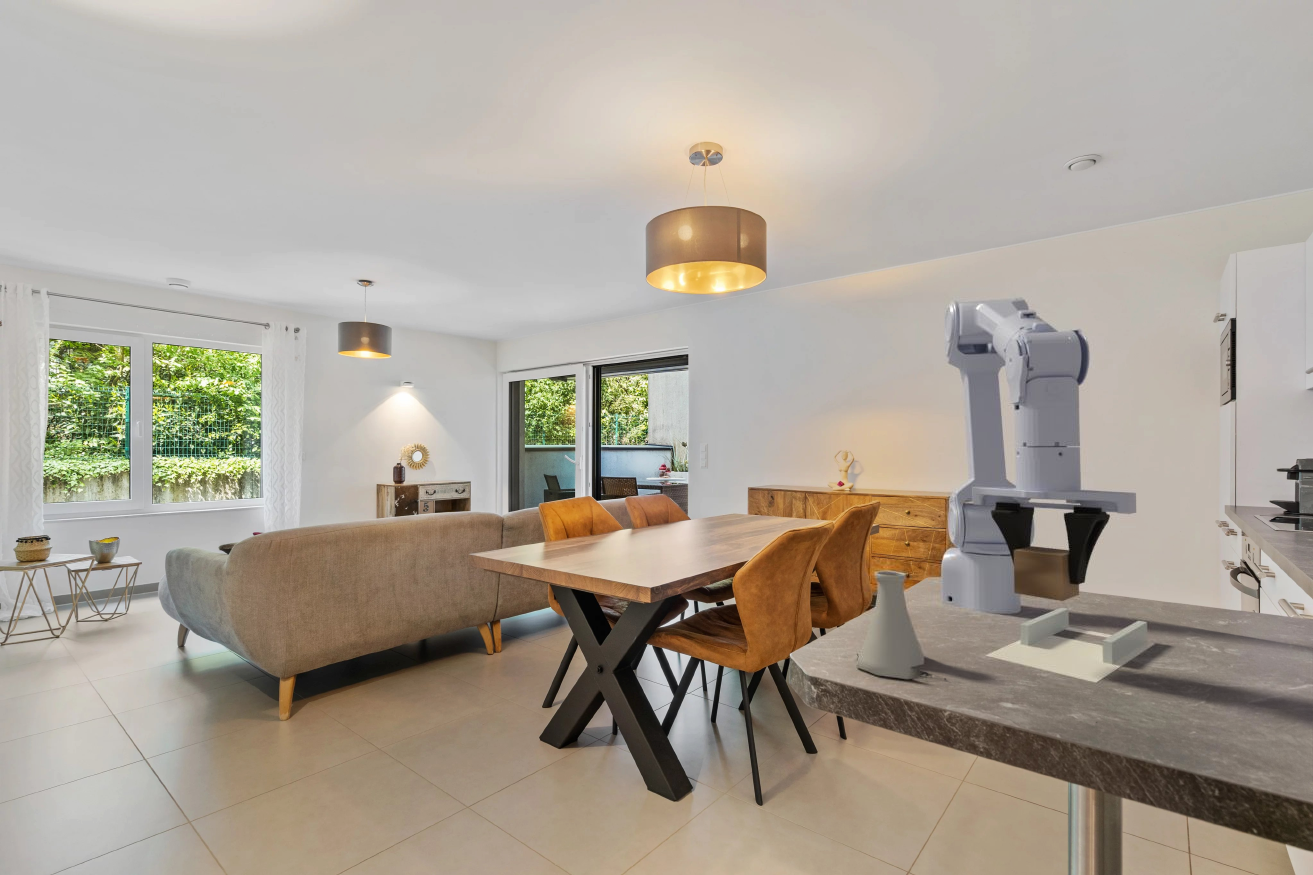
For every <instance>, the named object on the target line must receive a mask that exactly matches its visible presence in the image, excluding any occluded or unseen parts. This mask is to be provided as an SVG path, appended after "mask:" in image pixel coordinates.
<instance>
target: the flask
mask: <svg viewBox="0 0 1313 875" xmlns="http://www.w3.org/2000/svg"><path fill="white" fill-rule="evenodd" d="M906 578H907V573H905V572H902V571H895V570H879V571H874V579H875V580H876V581H877V595H876V599H875V600H876V601H875V607H874V612H873V614H872V618H871V621H870V625H869V627H868V631H867V634H866V636H865V639H864V642H863V643H862V644H863V645H862V648H861V651H860V654H859V656H858V659H857V662H856V666H855V667H856V668H857V669H858V668H859V669H861V670H863V671H865V672H869V673H871V674H872V675H873V674H874V675H877V676H881V677H882V676H883V677H888V678H897V679H901V680H902V679H904V680H910V679H914V678H917V677H922V676H925V675H928V672H927V671H925V670H921V669H917V668H915V667H918V666H923V665H924V664H925V655H924V654H925V653H924V652H923V650H922V647H921V644H920V642H919V640H918V637H917V633H916V631H915V628H914V626H913V623H912V620H911V617H910V614H909V610H908V607H907V603H906V599H905V596H906V595H905V589H904V588H905V587H904V585H905V584H904V582H905V581H906ZM913 667H914V668H913Z"/></svg>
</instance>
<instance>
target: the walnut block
mask: <svg viewBox="0 0 1313 875" xmlns="http://www.w3.org/2000/svg"><path fill="white" fill-rule="evenodd" d="M1014 593H1017V594H1021V595H1024V596H1030V597H1036V598H1042V599H1046V600H1048V599H1049V600H1054V601H1055V600H1056V601H1061V602H1064V601H1066V600H1070V599H1071V598H1074V597H1076V596H1077V597H1078V596H1079V595H1080V584H1079V585H1076V584H1070V579H1069V549H1063V548H1062V549H1061V548H1052V547H1042V546H1032V545H1031V546H1030V547H1025V548H1021V549H1017V550H1014Z"/></svg>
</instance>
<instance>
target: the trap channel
mask: <svg viewBox="0 0 1313 875" xmlns="http://www.w3.org/2000/svg"><path fill="white" fill-rule="evenodd" d="M1069 612H1070V611H1069V608H1066V607H1059V608H1057V609H1055V610H1052V611H1050V612H1047V613H1044V614H1042V615H1040V616H1037V617H1034V618H1032V619H1030V620H1027V621H1025V622H1023V623H1020V624H1019V627H1020V628H1019V631H1020V632H1019V633H1020V634H1019V635H1020V636H1019V637H1020V639H1019V640H1017V641H1015V642H1012V643H1010V644H1007V645H1006V646H1003V647H1000V648H998V649H997V650H994V651H992V652H989V653H988V654H985V657H989V658H993V659H997V660H1001V661H1004V662H1009V663H1012V664H1013V663H1014V664H1016V665H1021V666H1026V667H1029V668H1034V669H1038V670H1042V671H1046V672H1049V673H1054V674H1058V675H1061V676H1062V675H1063V676H1067V677H1070V678H1074V679H1075V678H1076V679H1080V680H1083V681H1088V682H1091V683H1095V684H1096V683H1099V682H1100V681H1102V680H1103V679H1105V678H1106V677H1108V676H1109V675H1111V674H1112V673H1113V672H1115V671H1116V670H1119V668H1122V667H1123V666H1125V665H1126V664H1127V663H1129V662H1130V661H1131V660H1133V659H1134V658H1137V657H1138V656H1139V655H1140V654H1142V653H1143V652H1145V651H1147V650H1148V649H1150V648H1151V647H1152V646H1154V645H1156V643H1154V642H1150V641H1148V622H1147V621H1143V620H1137V621H1135V622H1133V623H1132V624H1130V625H1128V626H1127V627H1124V628H1122V629H1121V630H1119V631H1117V632H1115V633H1113V634H1107V633H1103V632H1098V631H1093V630H1087V629H1083V628H1082V629H1081V628H1078V627H1077V628H1075V627H1071V626H1070V620H1069V618H1070V617H1069V616H1070V615H1069ZM1064 630H1065V631H1069V632H1075V633H1081V634H1086V635H1091V636H1096V637H1101V638H1105V639H1103V640H1102V644H1101V645H1100V644H1097V643H1096V644H1095V643H1092V642H1087V641H1082V640H1077V639H1072V638H1067V637H1063V636H1057V635H1055V634H1057V633H1060V632H1062V631H1064Z"/></svg>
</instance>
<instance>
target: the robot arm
mask: <svg viewBox="0 0 1313 875" xmlns="http://www.w3.org/2000/svg"><path fill="white" fill-rule="evenodd" d="M944 314H945V315H944V326H943V327H944V331H943V332H944V347H945V348H944V350H945V356H946V357H947V364H949V365H950V366H953V367H955V368H957V369H958V370H959V373H960V378H961V382H962V390H963V402H964V403H963V406H964V420H965V434H966V436H965V438H966V450H967V451H966V452H967V466H968V468H967V469H968V480H967V481H966V482H965V483H962V485H960V486H958V487H957V488H956V489H954V490H953V491H952V492H951V495H950V496H949V498H948V515H947V527H948V528H947V529H948V535H949V540H950V542H951V543H952V544H953V546H955V547H950V548H948V549H946V551H945V552H944V554H943V557H942V561H941V564H940V565H941V566H940V567H941V569H940V574H941V577H940V578H941V581H940V584H941V585H940V586H941V604H943V605H944V604H945V605H948V606H949V605H950V606H954V607H955V606H956V607H959V608H964V609H968V610H972V611H976V612H980V613H988V614H996V615H997V614H999V615H1009V614H1011V615H1012V614H1017V613H1020V612H1021V611H1022V608H1021V607H1022V606H1021V605H1022V596H1021V595H1022V594H1017V593H1014V550H1017V549H1021V548H1025V547H1030V546H1032V544H1033V542H1034V538H1035V529H1036V528H1035V519H1034V513H1035V509H1036V508H1039V509H1053V510H1070V512H1063V519H1064V523H1065V530H1066V535H1067V542H1068V543H1067V544H1068V550H1069V579H1070V584H1076V585H1079V586H1080V585H1082V584H1084V583H1085V582H1086V576H1087V570H1088V567H1089V562H1090V560H1091V556H1092V555H1093V551H1094V549H1095V546H1096V544H1097V542H1098V540H1099V538H1100V536H1101V534H1102V533H1103V530H1104V529H1105V527H1106V526H1107V524H1108V523H1109V520H1110V517H1111V515H1110V514H1109V513H1117V514H1125V515H1127V514H1128V515H1131V514H1136V513H1137V493H1136V492H1129V491H1128V492H1125V491H1107V490H1105V491H1104V490H1092V489H1091V490H1088V489H1086V490H1085V489H1082V484H1081V483H1082V480H1081V477H1082V476H1081V475H1082V474H1081V447H1080V446H1081V442H1080V441H1081V438H1080V437H1081V435H1080V434H1081V431H1080V430H1081V429H1080V426H1081V425H1080V386H1081V385H1082V384H1084V382H1085V380H1086V377H1087V376H1088V371H1089V366H1090V346H1089V342H1088V338H1087V336H1086V335H1085V333H1083V331H1082V330H1081V329H1080V328H1073V329H1070V330H1068V331H1059V330H1057V329H1056V328H1054V327H1053V326H1052V325H1050V324H1049V323H1048V322H1047V321H1045V320H1043V319H1042V318H1041V317H1040V316H1038V315H1037V312H1036V311H1035V309H1029V305H1028V302H1027V301H1026V300H1025V299H1024V298H1023V297H1020V296H1019V297H1015V298H1012V299H1011V298H1009V299H1008V298H1007V299H993V300H992V299H991V300H975V301H959V302H958V301H953V300H952V301H950V303H949V304H948V305H947V307H946V310H945V313H944ZM1003 367H1005V375H1006V381H1007V383H1008V389H1009V392H1008V393H1009V400H1010V404H1011V405H1013V406H1014V408H1013V409H1014V441H1015V442H1014V444H1015V445H1014V446H1015V448H1014V452H1015V456H1014V458H1015V460H1014V461H1015V484H1014V483H1013V482H1011V481H1010V480H1008V479H1007V470H1006V469H1007V468H1006V467H1007V466H1006V456H1005V445H1004V444H1005V443H1004V441H1005V440H1004V431H1003V419H1002V418H1003V416H1002V405H1001V404H1002V403H1001V393H1000V392H1001V391H1000V380H999V379H1000V378H999V376H1000V375H999V373H1000V371H1001V369H1002V368H1003ZM1032 499H1033V500H1054V501H1055V500H1056V501H1058V500H1059V501H1065V503H1055V502H1054V503H1053V502H1052V503H1049V502H1032V501H1031V500H1032ZM1030 501H1031V502H1030Z"/></svg>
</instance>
